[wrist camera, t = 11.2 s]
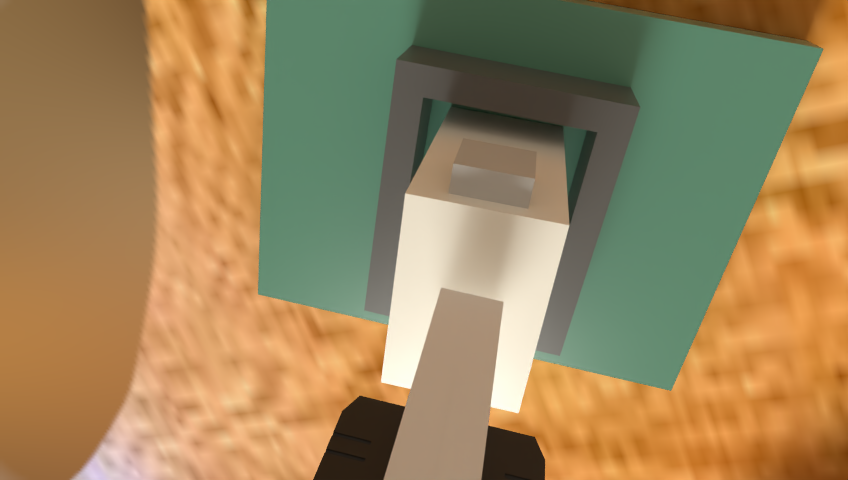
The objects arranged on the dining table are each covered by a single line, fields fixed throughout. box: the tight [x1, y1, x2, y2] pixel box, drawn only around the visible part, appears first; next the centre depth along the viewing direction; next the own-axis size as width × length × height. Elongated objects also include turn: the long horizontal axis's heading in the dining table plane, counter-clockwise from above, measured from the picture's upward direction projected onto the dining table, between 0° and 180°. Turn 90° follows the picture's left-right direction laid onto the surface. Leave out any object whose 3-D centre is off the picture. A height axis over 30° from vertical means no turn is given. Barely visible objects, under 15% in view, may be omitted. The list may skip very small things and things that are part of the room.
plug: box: [381, 107, 569, 413], centre depth 20 cm, size 4×7×8 cm, turn 173°
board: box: [258, 0, 823, 391], centre depth 23 cm, size 18×14×4 cm
